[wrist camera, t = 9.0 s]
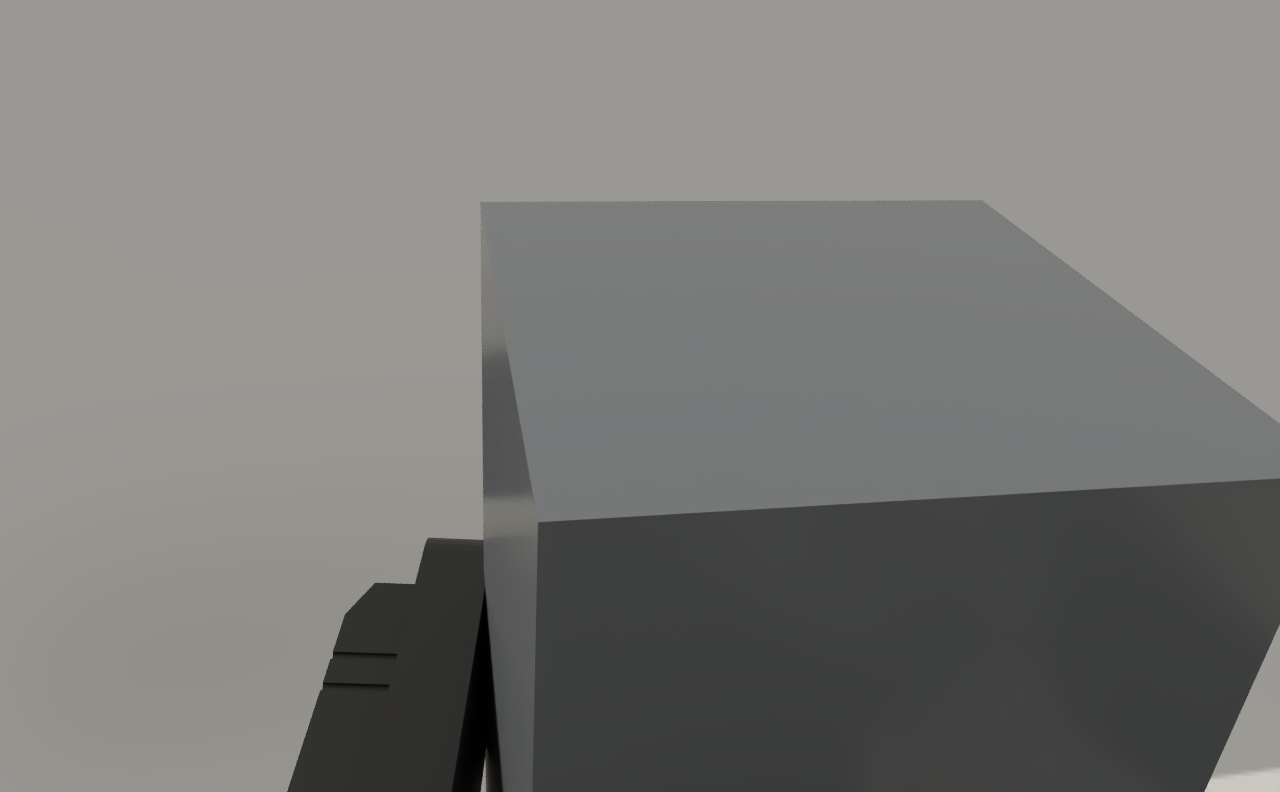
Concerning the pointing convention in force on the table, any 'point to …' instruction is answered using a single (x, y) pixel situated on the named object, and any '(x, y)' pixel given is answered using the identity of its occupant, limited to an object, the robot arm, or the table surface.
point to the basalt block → (853, 509)
